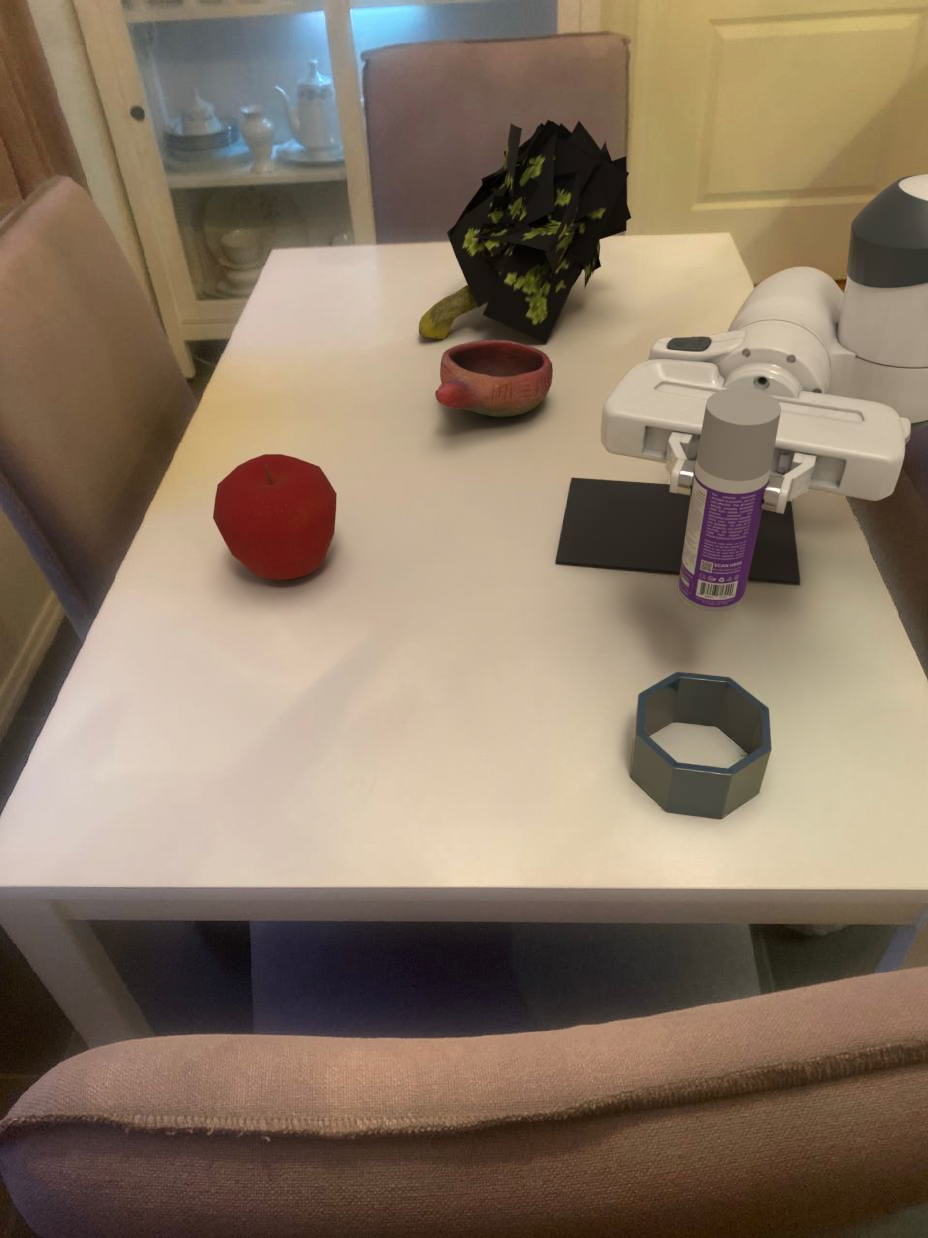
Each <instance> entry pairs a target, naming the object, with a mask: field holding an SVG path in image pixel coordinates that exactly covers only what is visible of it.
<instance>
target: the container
mask: <svg viewBox="0 0 928 1238" xmlns="http://www.w3.org/2000/svg"><path fill="white" fill-rule="evenodd" d="M780 413H781V406H780V404H779V402H778V401H777V400H776V399H775V398H774V397H772V396H771V395H769V394H767V393H764V392H761V391H758V390H754V389H747V388H730V389H725V390H721V391H718V392H716V393H714V394H712V395H711V396H710V397H709V398H708V400H707V402H706V408H705V413H704V419H703V425H702V430H701V436H700V442H699V448H698V453H697V459H696V465H695V470H694V479H693V484H692V493H691V498H690V506H689V513H688V520H687V527H686V534H685V541H684V548H683V555H682V562H681V569H680V575H678V585H677V592H678V595H679V596H680V598H681V599H682V600H683V601H684V602H685V603H686V604H687V605H688V606H690V607H692V608H694V609H696V610H698V611H703V612H706V613H707V612H708V613H723V612H727V611H731V610H734V609H736V607H738V606H739V605H740V604H741V603H742V602H743V601H744V597H745V593H746V588H747V584H748V575H749V571H750V566H751V561H752V556H753V552H754V547H755V542H756V538H757V533H758V528H759V523H760V519H761V514H762V509H761V504H762V501H763V494H764V490H765V488H766V486H767V484H768V481H769V475H770V470H771V464H772V458H773V453H774V447H775V441H776V436H777V430H778V425H779V419H780Z"/></svg>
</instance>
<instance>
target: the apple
mask: <svg viewBox="0 0 928 1238" xmlns="http://www.w3.org/2000/svg"><path fill="white" fill-rule="evenodd" d="M336 516H337V491H335V488H334V487H333V485H332V483H331V482H330V480H329V478H328V477H327V475H326V474H325V472H324V471H323V470H322V468H321V466H319V465H316V464H314V463H311V462H309V461H307V460H303V459H300V458H297V457H295V456H290V455H286V454H282V453H265V454H262V455H259V456H255V457H253V458H250V459H248V460H246V461H244V462H242V463H241V464H239V465H237V466H236V467H235V468H233V470H231V471H230V472H229V474H227V475H226V476H225V477H224V478H223V479H222V480H220V482H219V483H217V487H216V492H215V497H214V505H213V514H212V519H213V522H214V523H215V526H216V528H217V530H218V531H219V534H220V535H221V538H222V539H223V541H224V543H225V545H226V546H227V549H228V550H229V552H230V554H231V556H233V558H234V559H236V560H237V561H238V562H240V564H241V565H243V566H244V567H245V568H247V570H248V571H250V572H251V573H253V574H255V575H257V576H259V577H261V578H265V579H269V580H270V579H271V580H274V581H281V580H283V581H284V580H293V579H297V578H301V577H305V576H308V575H309V574H310V573H312V572H313V571H315V570H317V569H318V568H320V566H321V565H322V563H323V562H324V561H325V559H326V557H327V554H328V551H329V548H330V546H331V543H332V540H333V538H334V535H335V529H336Z"/></svg>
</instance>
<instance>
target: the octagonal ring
mask: <svg viewBox="0 0 928 1238" xmlns="http://www.w3.org/2000/svg"><path fill="white" fill-rule="evenodd" d="M634 718H635V721H634V728H633V735H632V749H631V761H630V763H631V764H630V773H629V777H630V778H631V780H632V781H634V782H635V784H637V786H639V787H640V788H641V789H642V790H643V791H644V792H645V793H646V794H647V795H648V796H649V797H650V798H651V799H652V800H653V801H654V802H655V803H656V804H657V805H658V806H659V807H660V808H662V810H663V811H664V812H666V813H672V814H679V815H680V814H681V815H688V816H695V817H702V818H710V819H718V820H722V819H724V818H725V817H726V816H728V815H729V814H731V813H732V812H734V811H735V810H737V809H739V808H740V807H741V806H743V805H744V804H745V803H747V802H749V801H750V800H751V799H753V798H754V797H756V796H757V795H759V794H760V791H761V788H762V784H763V781H764V777H765V774H766V770H767V767H768V763H769V760H770V756H771V753H772V750H773V749H772V735H771V734H772V733H771V719H770V718H771V717H770V708H769V707H768V705H766V704H765V703H763V702H762V701H760V700H759V699H758V698H757V697H755V696H754V695H753V694H752V693H750V692H749V691H748V690H747V689H745V688H744V687H743V686H742V685H740V684H739V683H738V682H736V681H735V680H734V679H733V678H732V677H730V676H723V675H713V674H711V675H710V674H704V673H695V672H694V673H693V672H684V671H675V672H674V673H672V674H670V675H669V676H667V677H665V678H664V679H662V680H660V681H658V682H657V683H655V684H653V685H651V686H650V687H648V688H646V689H644V690H643V691H641V692H639V693H638V694H637V703H636V711H635V717H634ZM673 722H675V723H681V724H682V723H683V724H691V725H692V724H693V725H701V726H710V727H717V728H718V729H719V730H720V731H721V732H723V733H724V734H725V735H726V736H727V737H729V738H730V739H731V740H732V741H733V742H735V743H736V744H737V745H738V746H739V747H741V748H742V749H743V750H744V751H746V753H748V754H747V755H746V756H744V757H743V758H742V759H740V760H739V761H737V762H735V763H734V764H732V765H731V766H729V767H728V768H727V767H720V766H712V765H703V764H695V763H694V764H693V763H686V762H678V761H677V760H676V759H675V758H673V757H672V756H671V755H670V754H669V752H667V751H666V750H665V749H663V747H661V746H660V745H659V744H658V743H657V742H656V741H655V740H654V739H653V738H652V737H651V736H652V735H653V734H655V733H657V732H658V731H660V730H661V729H663V728H665V727H667V726H668V725H669V724H671V723H673Z"/></svg>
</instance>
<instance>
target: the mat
mask: <svg viewBox="0 0 928 1238" xmlns="http://www.w3.org/2000/svg"><path fill="white" fill-rule="evenodd" d="M568 489H569V490H568V494H567V500H566V504H565V509H564V514H563V515H564V516H563V521H562V526H561V531H560V536H559V540H558V546H557V551H556V557H555V565H561V566H562V565H563V566H573V567H575V566H576V567H587V568H598V569H608V570H609V569H611V570H622V571H634V572H644V573H654V574H655V573H657V574H668V575H678V576H680V569H681V562H682V555H683V548H684V541H685V534H686V527H687V520H688V513H689V506H690V498H691V496H689V495H683V494H677V493H672V492H670V491H669V489H670V483H659V482H658V483H656V482H643V481H628V480H615V479H614V480H613V479H601V478H600V479H599V478H585V477H571V478H570V484H569V488H568ZM792 503H793V502H792V500H791V501H787V503H786V507H785V510H784V513H783V514H781V513H777V512H773V511H768V510H763V509H762V514H761V519H760V523H759V528H758V533H757V538H756V542H755V547H754V552H753V556H752V561H751V566H750V571H749V575H748V580H747V582H748V581H750V582H762V583H773V584H783V585H784V584H785V585H796V586H797V585H798V586H800V584H801V577H800V576H801V575H800V567H799V559H798V551H797V550H798V549H797V541H796V540H797V539H796V531H795V523H794V522H795V521H794V514H793V504H792Z"/></svg>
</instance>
